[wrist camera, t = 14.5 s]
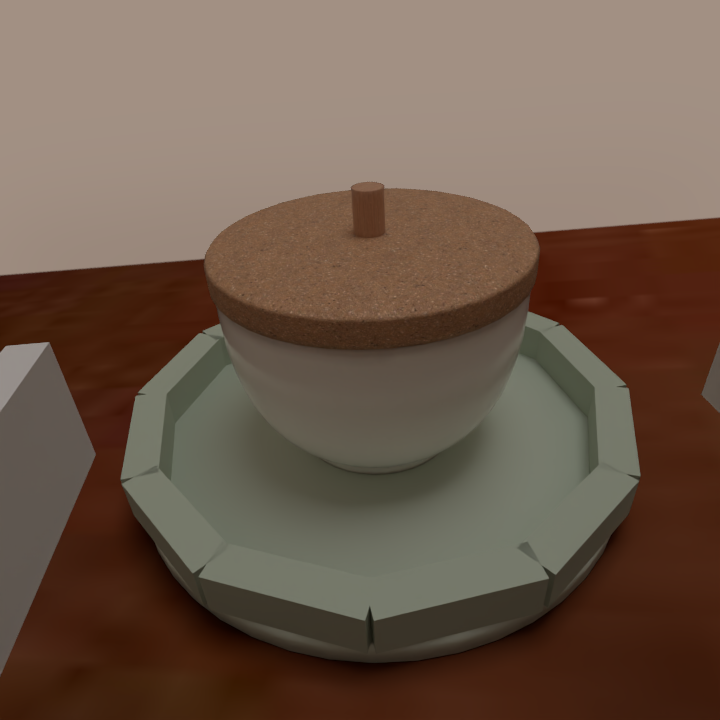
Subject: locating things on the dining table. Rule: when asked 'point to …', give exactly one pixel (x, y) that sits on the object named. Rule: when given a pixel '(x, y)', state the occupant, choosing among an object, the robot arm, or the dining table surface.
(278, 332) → the lidded jar
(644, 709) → the dining table surface
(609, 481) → the rimmed tray
